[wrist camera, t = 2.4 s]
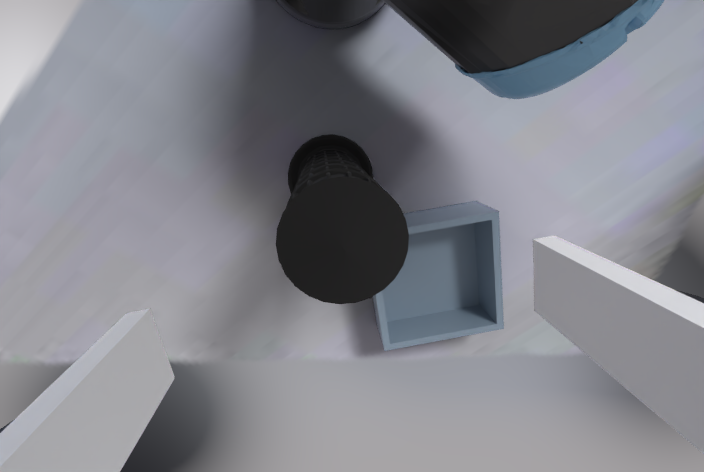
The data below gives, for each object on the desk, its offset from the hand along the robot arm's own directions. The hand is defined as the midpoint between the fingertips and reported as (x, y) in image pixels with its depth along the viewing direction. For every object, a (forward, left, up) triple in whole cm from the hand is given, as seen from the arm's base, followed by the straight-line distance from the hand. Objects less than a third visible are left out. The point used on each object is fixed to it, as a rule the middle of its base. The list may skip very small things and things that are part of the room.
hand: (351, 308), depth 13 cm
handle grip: (0, 0, -32) cm, 32 cm away
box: (+13, +10, -32) cm, 36 cm away
